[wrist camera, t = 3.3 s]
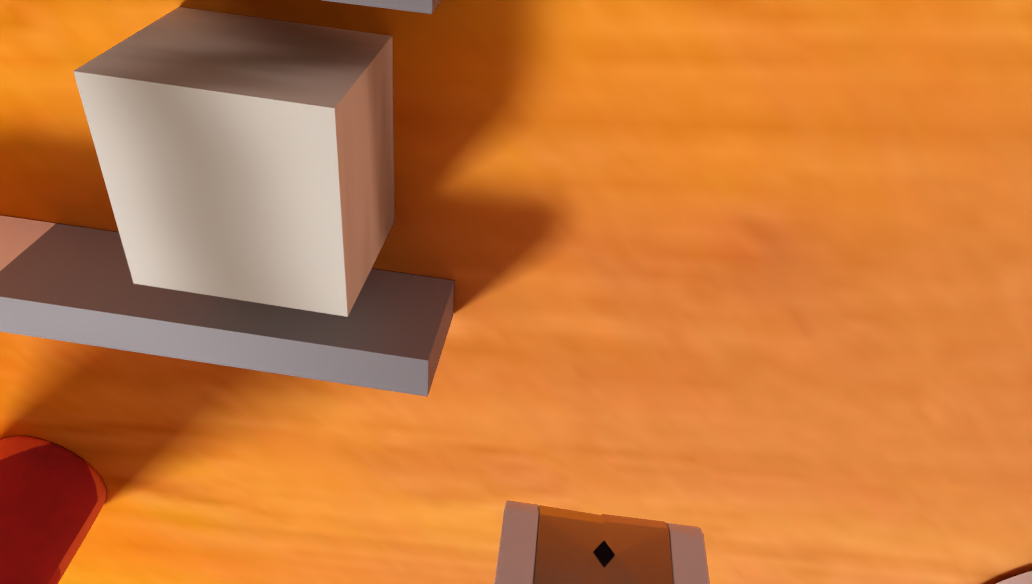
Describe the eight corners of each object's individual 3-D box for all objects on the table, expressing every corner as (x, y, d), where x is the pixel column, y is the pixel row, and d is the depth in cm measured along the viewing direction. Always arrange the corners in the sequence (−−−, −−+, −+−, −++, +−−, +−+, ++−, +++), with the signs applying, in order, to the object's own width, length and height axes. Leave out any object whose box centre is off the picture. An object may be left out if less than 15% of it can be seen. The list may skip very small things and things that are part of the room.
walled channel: (468, -100, 18) (432, -63, 15) (453, 314, 26) (427, 396, 23) (-229, -181, 19) (-404, -162, 16) (-38, 243, 27) (-128, 312, 24)
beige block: (393, 34, 20) (334, 108, 16) (395, 219, 24) (347, 316, 20) (181, 5, 21) (73, 71, 17) (215, 193, 24) (133, 283, 20)
